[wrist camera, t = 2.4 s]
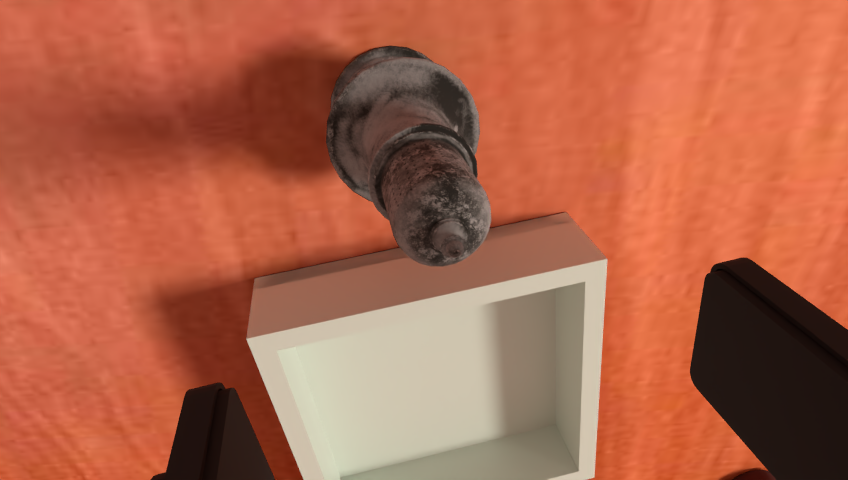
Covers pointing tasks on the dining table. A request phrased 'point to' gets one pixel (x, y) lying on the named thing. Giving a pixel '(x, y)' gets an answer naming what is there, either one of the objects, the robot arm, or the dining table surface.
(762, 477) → the watch
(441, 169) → the salt shaker
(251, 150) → the dining table surface
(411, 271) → the tray
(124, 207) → the dining table surface
